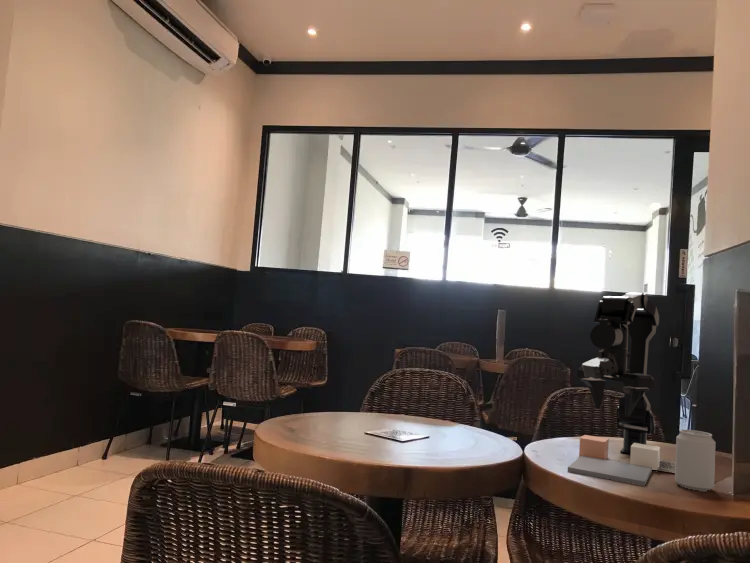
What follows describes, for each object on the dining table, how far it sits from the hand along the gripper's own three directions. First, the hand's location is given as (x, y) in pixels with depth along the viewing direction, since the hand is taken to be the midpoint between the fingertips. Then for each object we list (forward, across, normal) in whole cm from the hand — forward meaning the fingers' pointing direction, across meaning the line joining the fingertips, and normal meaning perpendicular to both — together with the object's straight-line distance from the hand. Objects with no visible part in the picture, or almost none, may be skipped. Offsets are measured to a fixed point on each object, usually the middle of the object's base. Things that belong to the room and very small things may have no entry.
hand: (612, 412), depth 140 cm
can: (+13, +18, +6) cm, 23 cm away
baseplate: (+13, +4, -4) cm, 14 cm away
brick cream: (+13, +1, +10) cm, 17 cm away
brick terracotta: (+13, -8, +3) cm, 16 cm away
